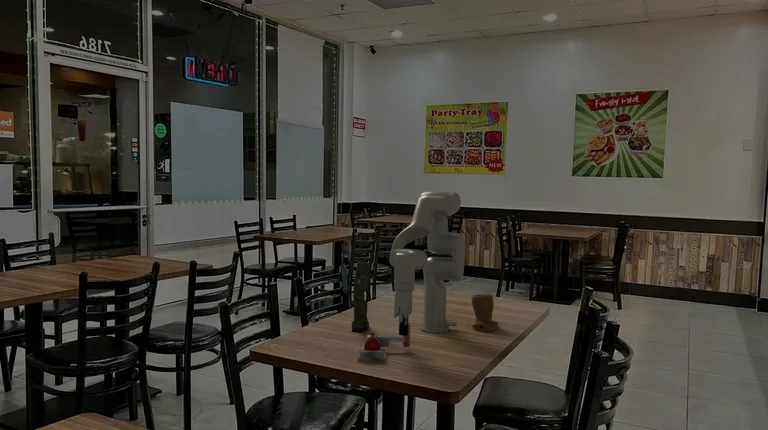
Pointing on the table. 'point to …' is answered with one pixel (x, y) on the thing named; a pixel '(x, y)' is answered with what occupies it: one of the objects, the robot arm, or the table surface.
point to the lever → (392, 339)
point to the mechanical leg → (360, 297)
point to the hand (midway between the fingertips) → (403, 334)
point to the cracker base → (372, 354)
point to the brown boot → (483, 312)
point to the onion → (372, 344)
